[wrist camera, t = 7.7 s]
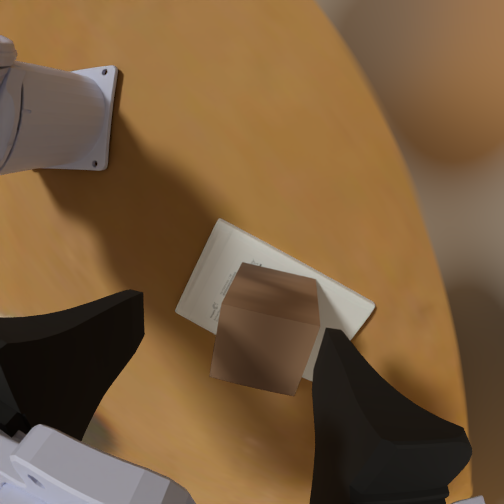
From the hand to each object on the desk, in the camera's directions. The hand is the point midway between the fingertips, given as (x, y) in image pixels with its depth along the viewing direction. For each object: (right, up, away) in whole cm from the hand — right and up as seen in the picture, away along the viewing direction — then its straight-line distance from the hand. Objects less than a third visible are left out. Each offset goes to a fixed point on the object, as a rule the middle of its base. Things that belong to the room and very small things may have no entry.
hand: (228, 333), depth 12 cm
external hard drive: (+2, -1, +12) cm, 12 cm away
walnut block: (+2, 0, +10) cm, 10 cm away
